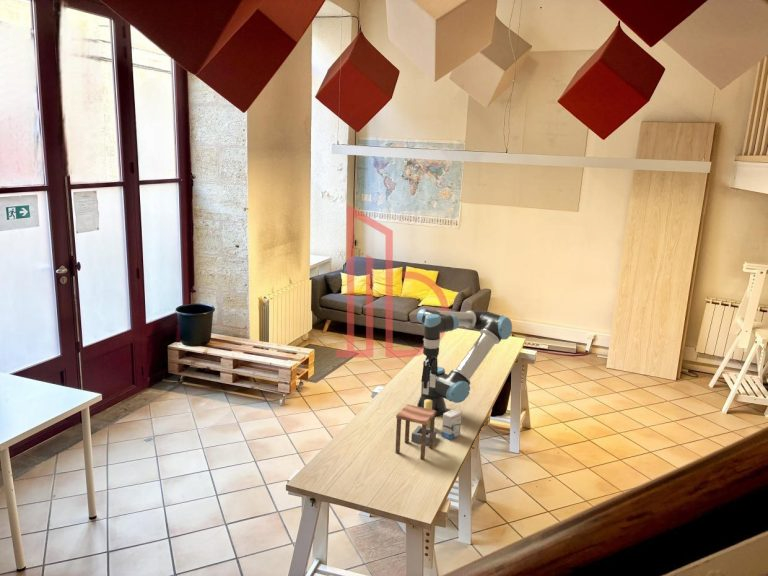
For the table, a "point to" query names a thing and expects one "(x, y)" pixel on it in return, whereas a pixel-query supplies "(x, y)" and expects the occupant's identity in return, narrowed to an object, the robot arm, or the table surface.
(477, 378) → the table surface
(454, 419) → the ink box
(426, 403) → the peg
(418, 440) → the socket block
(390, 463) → the table surface
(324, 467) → the table surface
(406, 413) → the wooden stool
